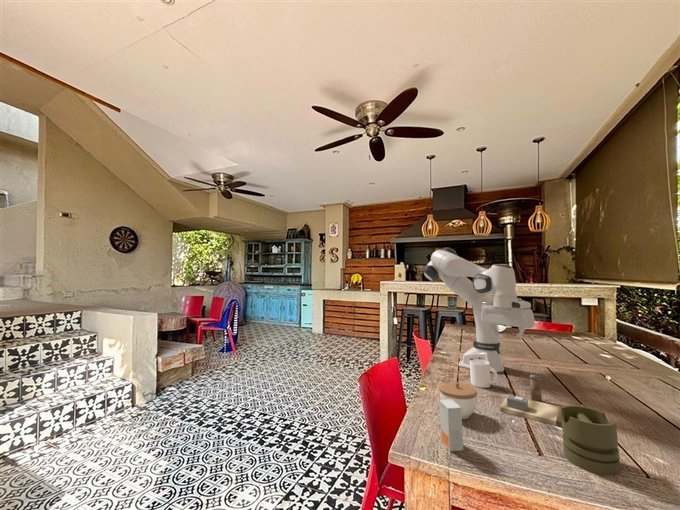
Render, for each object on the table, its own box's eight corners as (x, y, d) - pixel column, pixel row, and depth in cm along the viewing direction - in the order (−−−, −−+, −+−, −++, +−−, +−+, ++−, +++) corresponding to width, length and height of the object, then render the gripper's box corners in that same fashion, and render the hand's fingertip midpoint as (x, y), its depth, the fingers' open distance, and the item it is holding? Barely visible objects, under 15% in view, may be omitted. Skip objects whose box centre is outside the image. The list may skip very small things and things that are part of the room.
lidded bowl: (461, 426, 95) (459, 392, 96) (432, 411, 106) (431, 380, 107) (485, 417, 101) (484, 385, 102) (456, 404, 112) (455, 374, 113)
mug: (502, 387, 128) (501, 364, 128) (494, 392, 123) (492, 367, 123) (476, 380, 137) (475, 358, 138) (467, 384, 132) (466, 361, 133)
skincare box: (440, 440, 87) (438, 399, 88) (453, 439, 88) (452, 398, 89) (449, 452, 81) (447, 408, 82) (464, 451, 82) (462, 407, 82)
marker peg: (530, 401, 114) (528, 376, 114) (531, 398, 116) (530, 373, 117) (541, 403, 111) (540, 378, 112) (542, 400, 114) (541, 375, 115)
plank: (500, 411, 105) (500, 406, 105) (508, 398, 116) (508, 395, 116) (586, 433, 90) (585, 428, 90) (586, 416, 100) (585, 412, 100)
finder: (507, 406, 106) (506, 397, 106) (509, 403, 109) (509, 394, 109) (526, 411, 102) (525, 401, 102) (528, 407, 105) (527, 398, 105)
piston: (602, 408, 81) (625, 428, 70) (606, 453, 80) (630, 480, 69) (554, 403, 85) (569, 421, 74) (557, 445, 84) (573, 470, 73)
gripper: (477, 301, 127) (479, 333, 125) (527, 304, 109) (530, 341, 108) (485, 301, 130) (487, 332, 129) (535, 303, 113) (538, 339, 111)
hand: (507, 336), depth 118 cm, fingers open, 8 cm apart
